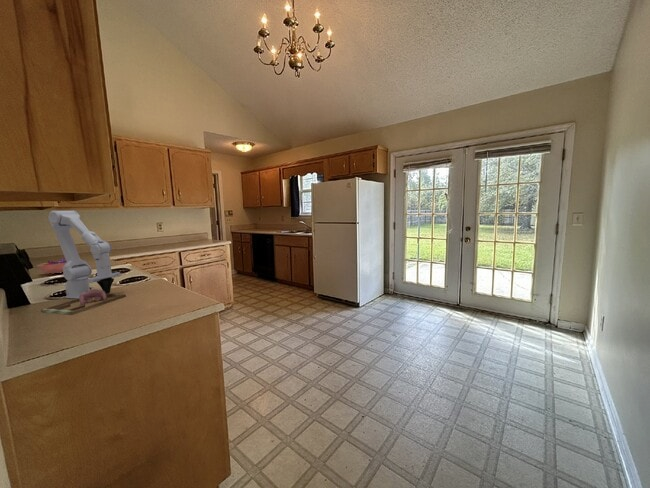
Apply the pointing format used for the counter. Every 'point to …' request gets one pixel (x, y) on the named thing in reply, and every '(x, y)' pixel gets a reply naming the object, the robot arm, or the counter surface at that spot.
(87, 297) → the video game controller
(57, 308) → the shallow wooden tray
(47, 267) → the cell model
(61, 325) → the counter surface
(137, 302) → the counter surface
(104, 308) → the counter surface
